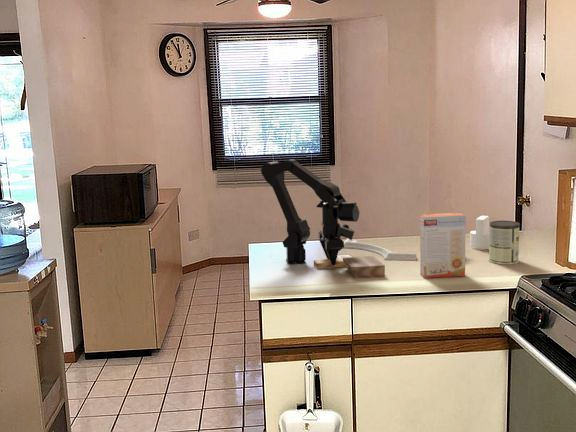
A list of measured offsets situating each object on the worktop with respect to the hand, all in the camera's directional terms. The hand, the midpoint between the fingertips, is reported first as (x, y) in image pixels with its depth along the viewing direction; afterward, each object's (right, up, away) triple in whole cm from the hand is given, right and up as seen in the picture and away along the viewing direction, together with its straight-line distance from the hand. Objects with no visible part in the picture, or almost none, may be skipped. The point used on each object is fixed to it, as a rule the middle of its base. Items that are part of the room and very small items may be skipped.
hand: (331, 262), depth 223 cm
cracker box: (+36, -3, -17) cm, 40 cm away
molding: (+20, +2, +22) cm, 30 cm away
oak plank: (0, -2, 0) cm, 2 cm away
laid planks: (+11, -3, -9) cm, 15 cm away
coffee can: (+63, 0, -1) cm, 63 cm away
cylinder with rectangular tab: (+62, +4, +22) cm, 66 cm away
